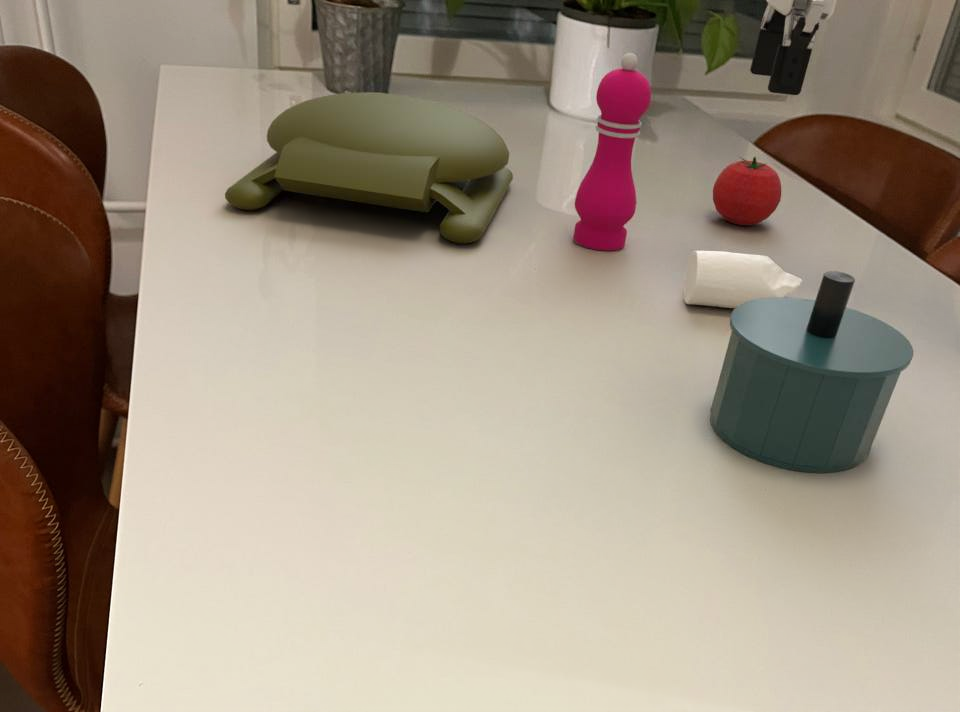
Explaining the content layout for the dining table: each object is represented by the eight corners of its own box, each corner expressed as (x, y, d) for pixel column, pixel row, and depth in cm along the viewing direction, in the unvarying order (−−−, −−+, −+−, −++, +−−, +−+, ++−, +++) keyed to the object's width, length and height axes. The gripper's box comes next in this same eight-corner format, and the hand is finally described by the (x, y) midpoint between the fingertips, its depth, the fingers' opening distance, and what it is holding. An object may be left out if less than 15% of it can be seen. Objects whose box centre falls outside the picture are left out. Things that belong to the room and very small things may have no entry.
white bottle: (799, 324, 104) (815, 272, 101) (687, 312, 104) (700, 259, 101) (787, 303, 109) (803, 252, 105) (681, 291, 109) (692, 239, 105)
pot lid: (877, 318, 86) (901, 253, 82) (934, 394, 75) (964, 323, 71) (713, 302, 85) (730, 235, 82) (746, 376, 74) (767, 303, 71)
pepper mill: (619, 233, 122) (652, 48, 109) (635, 253, 117) (673, 62, 104) (563, 230, 121) (590, 43, 108) (577, 251, 116) (607, 57, 103)
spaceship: (478, 251, 112) (486, 159, 106) (218, 211, 114) (212, 118, 108) (520, 171, 139) (529, 94, 133) (309, 140, 141) (308, 62, 135)
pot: (843, 402, 91) (876, 313, 85) (888, 479, 80) (928, 383, 75) (698, 389, 90) (722, 297, 85) (725, 464, 80) (753, 366, 74)
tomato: (700, 224, 128) (716, 158, 123) (712, 206, 135) (727, 143, 130) (767, 238, 126) (786, 171, 121) (776, 219, 133) (794, 156, 128)
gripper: (898, -123, 83) (831, 107, 94) (843, -132, 96) (790, 70, 107) (811, -133, 83) (754, 99, 94) (768, -142, 96) (722, 63, 107)
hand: (773, 82), depth 101 cm, fingers open, 8 cm apart
